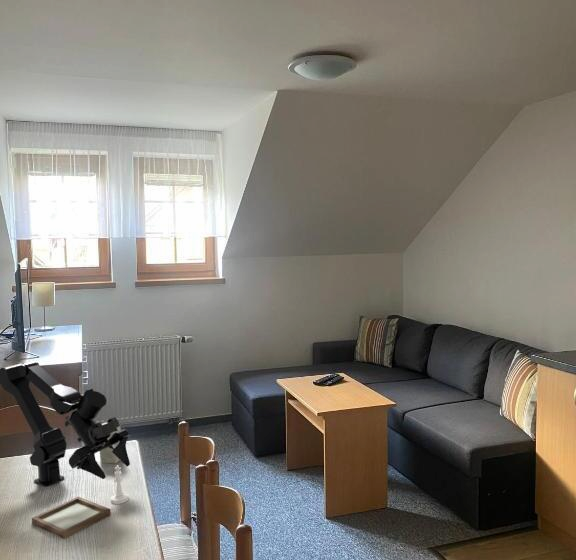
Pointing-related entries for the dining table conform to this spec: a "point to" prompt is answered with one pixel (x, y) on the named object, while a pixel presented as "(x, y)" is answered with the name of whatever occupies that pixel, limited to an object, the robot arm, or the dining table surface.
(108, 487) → the dining table surface
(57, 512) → the walnut tray
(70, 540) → the dining table surface
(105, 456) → the skincare box
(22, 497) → the dining table surface
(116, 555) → the dining table surface
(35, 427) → the robot arm
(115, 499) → the chess piece
